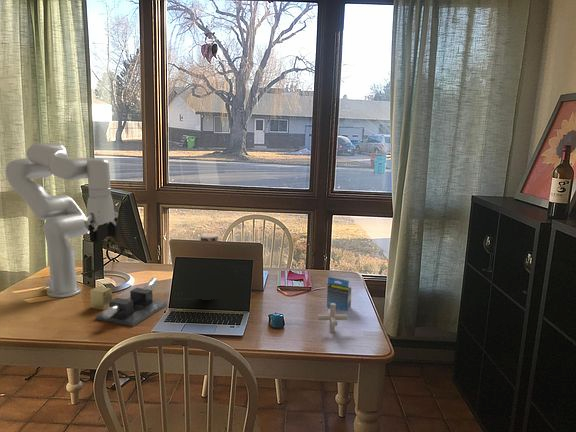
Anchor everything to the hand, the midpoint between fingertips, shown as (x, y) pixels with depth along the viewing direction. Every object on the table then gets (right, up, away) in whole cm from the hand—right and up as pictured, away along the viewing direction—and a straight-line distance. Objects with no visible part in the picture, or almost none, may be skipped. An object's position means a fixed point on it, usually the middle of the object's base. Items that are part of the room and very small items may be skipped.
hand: (103, 238), depth 177 cm
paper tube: (+37, -24, +19) cm, 48 cm away
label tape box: (+89, -28, +8) cm, 93 cm away
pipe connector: (+84, -32, -13) cm, 91 cm away
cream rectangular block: (-2, -26, +4) cm, 27 cm away
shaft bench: (+11, -27, -1) cm, 30 cm away
